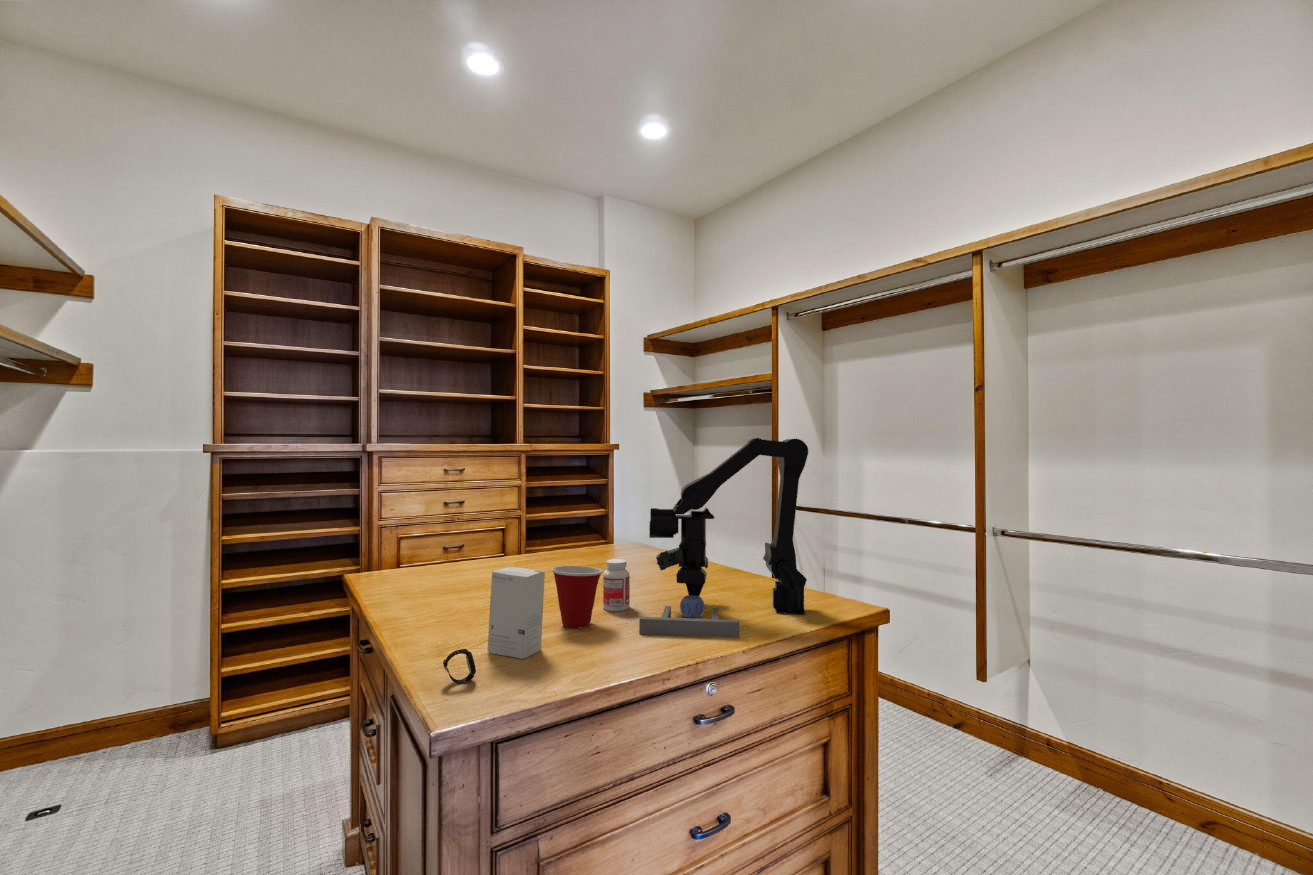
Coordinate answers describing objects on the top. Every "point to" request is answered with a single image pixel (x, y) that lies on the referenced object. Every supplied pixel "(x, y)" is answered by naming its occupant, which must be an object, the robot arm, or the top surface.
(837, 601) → the top surface
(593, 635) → the top surface
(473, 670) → the smartwatch
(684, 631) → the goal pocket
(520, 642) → the skincare box
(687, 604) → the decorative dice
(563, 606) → the plastic cup
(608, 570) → the pill bottle
